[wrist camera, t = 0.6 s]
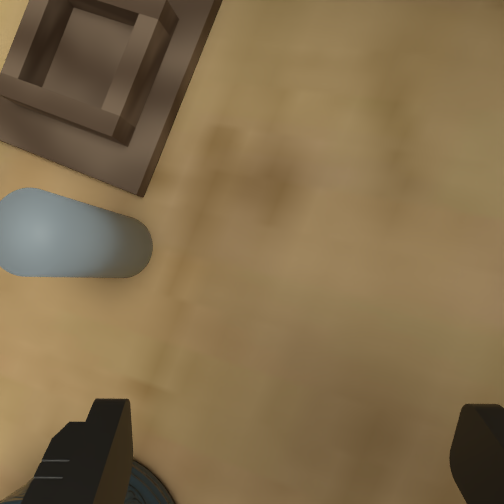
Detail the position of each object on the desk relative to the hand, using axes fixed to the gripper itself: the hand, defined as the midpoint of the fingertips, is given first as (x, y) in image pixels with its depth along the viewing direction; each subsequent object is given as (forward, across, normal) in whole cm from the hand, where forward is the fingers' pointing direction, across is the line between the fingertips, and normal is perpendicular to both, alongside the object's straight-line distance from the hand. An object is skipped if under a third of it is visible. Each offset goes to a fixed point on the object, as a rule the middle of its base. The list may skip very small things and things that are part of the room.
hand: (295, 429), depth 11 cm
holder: (+30, +12, -7) cm, 33 cm away
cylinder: (+24, +10, +5) cm, 26 cm away
